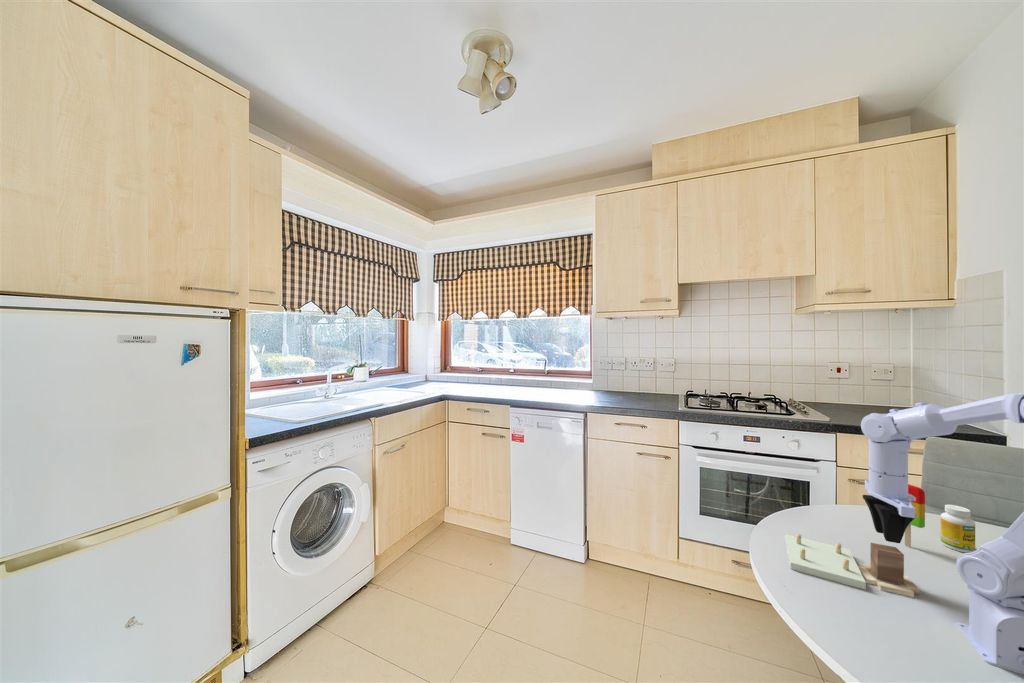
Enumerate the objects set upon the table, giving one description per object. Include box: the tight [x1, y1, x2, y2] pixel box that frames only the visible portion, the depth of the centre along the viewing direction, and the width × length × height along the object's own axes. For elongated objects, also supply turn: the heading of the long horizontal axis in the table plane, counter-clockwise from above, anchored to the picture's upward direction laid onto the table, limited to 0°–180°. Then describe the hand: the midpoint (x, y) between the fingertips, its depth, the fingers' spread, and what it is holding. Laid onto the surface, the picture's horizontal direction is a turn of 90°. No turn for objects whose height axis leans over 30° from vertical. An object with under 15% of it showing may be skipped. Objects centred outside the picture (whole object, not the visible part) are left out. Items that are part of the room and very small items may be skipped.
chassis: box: [784, 533, 867, 591], centre depth 82 cm, size 14×12×4 cm
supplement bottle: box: [940, 504, 976, 553], centre depth 88 cm, size 5×5×10 cm
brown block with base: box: [857, 542, 921, 598], centre depth 76 cm, size 8×8×7 cm
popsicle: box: [904, 483, 926, 548], centre depth 89 cm, size 6×2×15 cm, turn 16°
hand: (887, 537), depth 75 cm, fingers open, 3 cm apart
